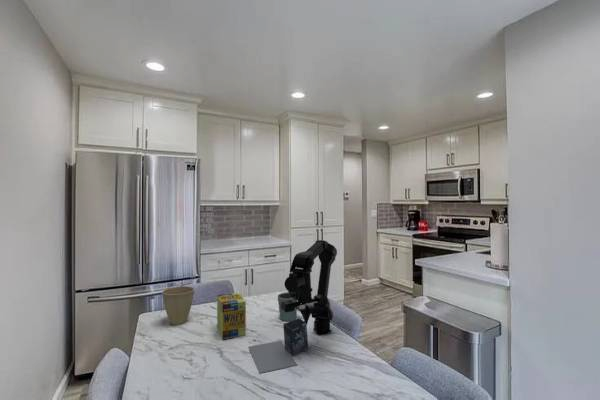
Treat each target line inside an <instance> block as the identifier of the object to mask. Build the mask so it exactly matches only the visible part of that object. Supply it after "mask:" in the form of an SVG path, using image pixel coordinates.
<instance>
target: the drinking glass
mask: <svg viewBox="0 0 600 400" xmlns="http://www.w3.org/2000/svg"><path fill="white" fill-rule="evenodd" d="M287 300H291V301H292V302H298V300H295V299H294V300H293V297H291V298H289V295H288V292H282V293H279V294H278V295H277V301H278V303H277V304H278V311H279V320H280V322H284V323H288V322H291V321H294V320H296V319H298V318H297V316H298V314H297V311H298V309H296V307H295V310H294V311H292V312H285V311H283V310H282V309H281V303H282V301H287Z"/></svg>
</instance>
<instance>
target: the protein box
mask: <svg viewBox="0 0 600 400" xmlns="http://www.w3.org/2000/svg"><path fill="white" fill-rule="evenodd" d="M216 298H217V299H216V300H217V302H216V303H217V304H216V307H217V308H216V309H217V311H216V316H217V317H216V319H217V320H216V322H217V324H216V327H217V330H218V333H219V335H220V337H221V340H222V341H227V340H232V339H237V338H243V337H246V336H247V334H246V333H247V328H246V327H247V325H246V324H247V321H246V320H247V317H246V316H247V314H246V312H247V311H246V309H247V308H246V302H247V301H246V300H245V299H244V298H243V296H242V295H241V293H240V292H231V293H230V292H229V293H221V294H217V295H216Z"/></svg>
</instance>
